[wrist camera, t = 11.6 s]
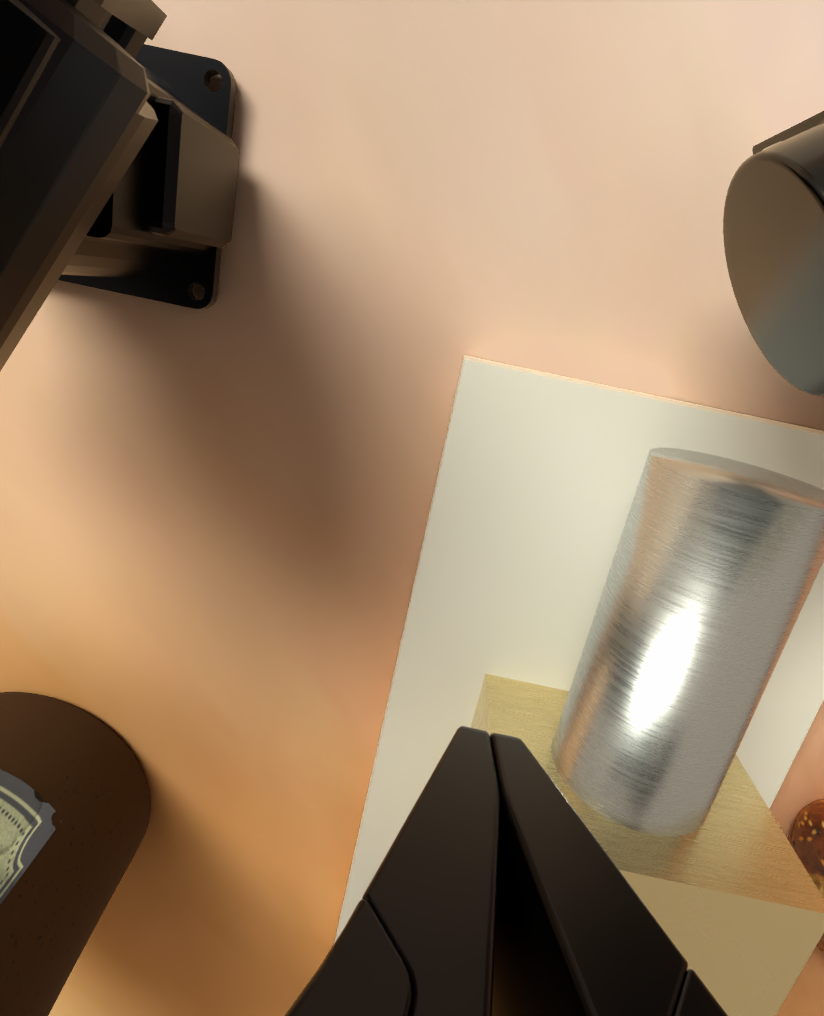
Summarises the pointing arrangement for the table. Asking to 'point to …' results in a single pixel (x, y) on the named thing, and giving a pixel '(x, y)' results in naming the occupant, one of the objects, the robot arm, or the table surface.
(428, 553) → the mount board
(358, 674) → the table surface
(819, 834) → the pretzel
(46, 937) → the olive oil
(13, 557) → the table surface
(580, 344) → the table surface
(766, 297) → the pneumatic valve
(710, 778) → the valve body
